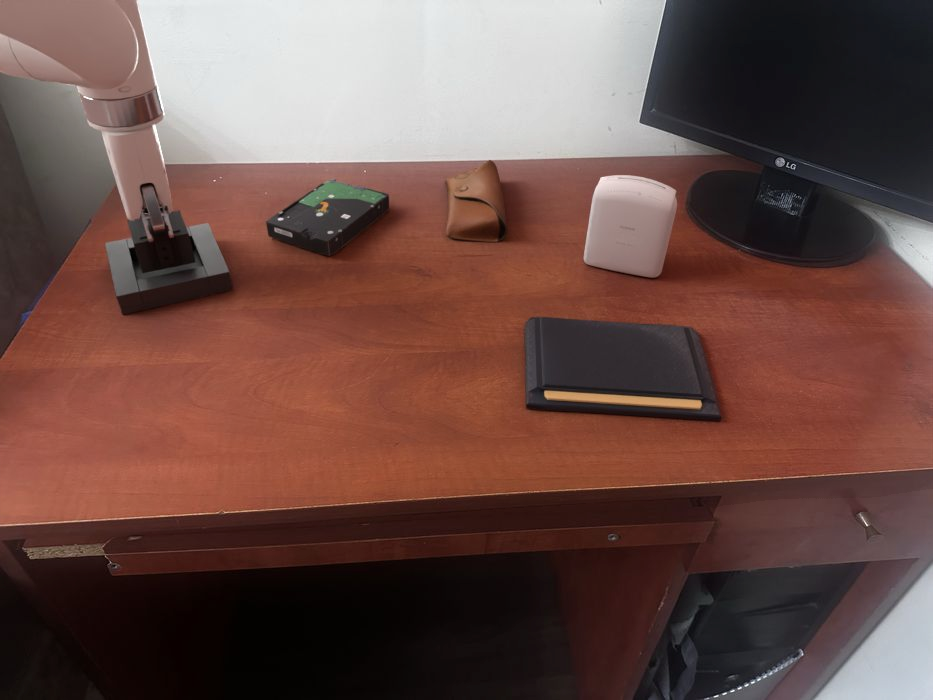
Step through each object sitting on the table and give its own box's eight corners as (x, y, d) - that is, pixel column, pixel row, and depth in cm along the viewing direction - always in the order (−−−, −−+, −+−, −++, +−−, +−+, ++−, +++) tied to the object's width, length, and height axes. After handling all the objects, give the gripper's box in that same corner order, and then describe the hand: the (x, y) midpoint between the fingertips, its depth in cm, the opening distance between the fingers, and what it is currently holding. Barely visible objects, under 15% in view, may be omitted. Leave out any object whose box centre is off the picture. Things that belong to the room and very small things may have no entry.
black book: (701, 319, 81) (727, 413, 69) (697, 332, 82) (722, 426, 70) (526, 305, 82) (523, 395, 70) (525, 318, 83) (521, 409, 71)
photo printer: (579, 266, 92) (593, 178, 84) (586, 249, 95) (600, 164, 87) (658, 283, 90) (681, 194, 82) (663, 266, 93) (685, 179, 85)
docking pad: (122, 315, 81) (116, 296, 79) (110, 260, 89) (104, 242, 88) (233, 289, 85) (229, 271, 84) (212, 240, 94) (208, 222, 92)
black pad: (142, 273, 82) (133, 242, 80) (135, 248, 86) (126, 218, 84) (195, 262, 85) (188, 231, 82) (186, 238, 89) (179, 208, 86)
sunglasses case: (441, 177, 109) (465, 142, 105) (479, 198, 112) (503, 165, 108) (444, 238, 95) (472, 200, 92) (488, 261, 98) (516, 225, 94)
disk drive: (331, 260, 91) (391, 210, 102) (329, 241, 89) (390, 192, 100) (267, 239, 95) (330, 192, 105) (263, 221, 93) (328, 175, 103)
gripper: (77, 81, 78) (122, 225, 90) (91, 142, 66) (141, 298, 78) (149, 73, 81) (183, 214, 92) (174, 130, 69) (210, 282, 81)
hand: (163, 251), depth 85 cm, fingers closed on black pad, 6 cm apart
